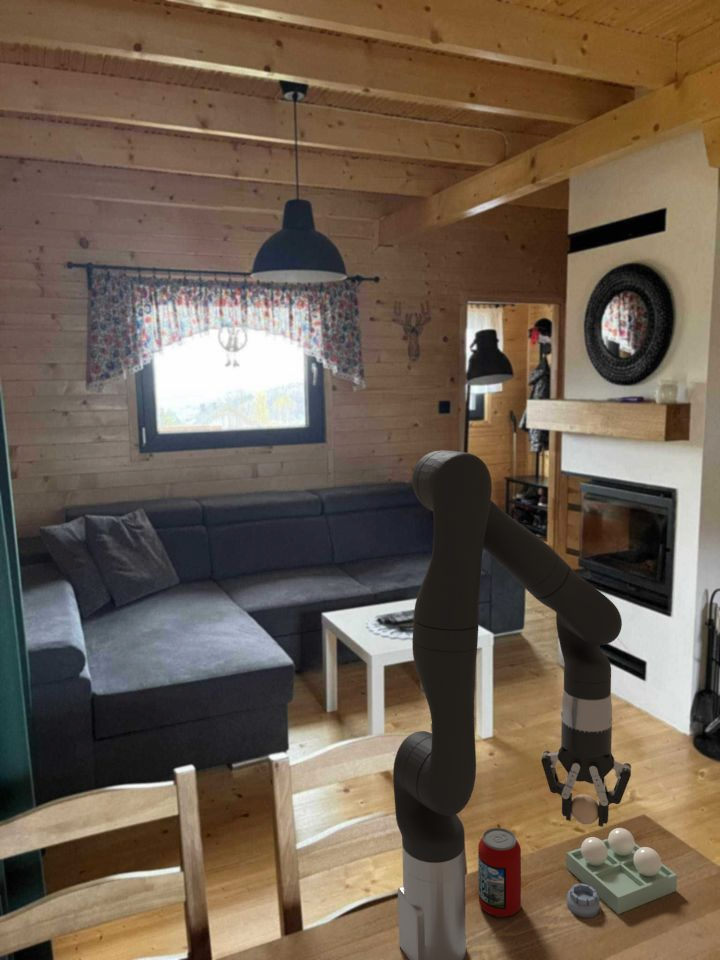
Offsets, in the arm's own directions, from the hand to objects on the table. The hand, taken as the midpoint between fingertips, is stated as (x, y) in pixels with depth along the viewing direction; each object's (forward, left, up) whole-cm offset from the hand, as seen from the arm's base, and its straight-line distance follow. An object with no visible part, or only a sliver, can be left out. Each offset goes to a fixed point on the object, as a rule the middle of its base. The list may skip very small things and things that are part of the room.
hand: (584, 820), depth 117 cm
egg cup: (0, 0, -15) cm, 15 cm away
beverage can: (-12, +6, -15) cm, 20 cm away
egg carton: (+10, +3, -15) cm, 18 cm away
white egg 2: (+13, +6, -13) cm, 19 cm away
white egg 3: (+13, 0, -13) cm, 18 cm away
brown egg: (0, 0, 0) cm, 0 cm away
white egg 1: (+7, +6, -13) cm, 16 cm away
